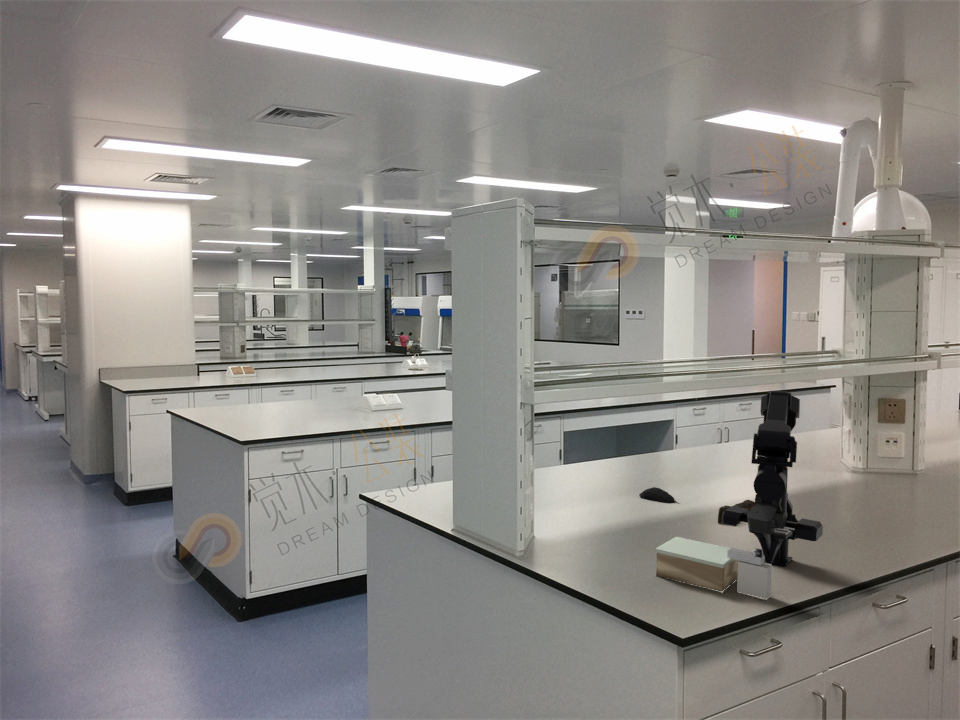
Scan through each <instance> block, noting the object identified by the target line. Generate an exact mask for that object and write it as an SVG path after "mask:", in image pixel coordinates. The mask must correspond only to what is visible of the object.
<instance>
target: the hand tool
mask: <svg viewBox="0 0 960 720" xmlns="http://www.w3.org/2000/svg"><path fill="white" fill-rule="evenodd" d="M754 502H755V501H754V500H750V499H745V500H743V502H739V503H735V504H734V505H733V506H735V507H741V508H746V509H748V511H749V512H750V510H751V508H752V507H753V505H754ZM730 507H731V505H724V506H720V507H719V509H718V513H717V514H718V515H717V523H718V524H723V523H722V513H723V512H724V511H725V510H726V509H728V508H730Z"/></svg>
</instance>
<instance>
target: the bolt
mask: <svg viewBox="0 0 960 720" xmlns="http://www.w3.org/2000/svg"><path fill="white" fill-rule="evenodd" d="M729 548H730V549H729V550H728V553H727V558H730V559H735V560H739V561H743V562H748V563H752V564H756V565H762V564H763V563H766V562H765V556H764V555H762V554H763V550H762V548H754V549H753V552H752V551H747V550H744V549H739V548H736V547H735V548H734V547H729Z"/></svg>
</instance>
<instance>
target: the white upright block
mask: <svg viewBox="0 0 960 720" xmlns="http://www.w3.org/2000/svg"><path fill="white" fill-rule="evenodd" d="M772 567H773V564H772V563H771V564H768V563H767V562H764V563H763V564H762V565H756V564H752V563H748V562H743V561H738V579H737V581H736V583H737V584H736V585H737V587H736V588H737V589H736V593H737V592H741V593H745V594H750V595H754V596H758V597H762V598H765V599H766V598H768V597H769V596H770V595H772V593H771V592H772V570H773V569H772Z"/></svg>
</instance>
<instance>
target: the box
mask: <svg viewBox="0 0 960 720" xmlns="http://www.w3.org/2000/svg"><path fill="white" fill-rule="evenodd" d="M738 561H739V560H733V561H732V562H731V563H729V564H728V565H727V566H725V567H724V568H720V567H716V566H711V565H707V564H703V563H699V562H695V561H691V560H686V559H682V558H678V557H674V556H670V555H665V554H661V553H657V552H656V565H655V566H656V568H655V569H656V570H655V572H656V573H655V575H656V577H658V576H660V577H659V578H662V577H664V578H663V579H666V578H668V579H667V580H670V579H673V580H677V581H681V582H685V583H689V584H693V585H697V586H701V587H706V588H710V589H714V590H718V591H723V590H724V589H726V588H727V587H728V586H729V585H731V584H732V583H733V582H734V581H735V580H737V579H738ZM673 580H672V581H673ZM677 581H676V582H677ZM681 582H680V583H681ZM685 583H684V584H685ZM689 584H688V585H689ZM732 585H733V584H732ZM732 585H731V586H732ZM726 590H727V589H726Z"/></svg>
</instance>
